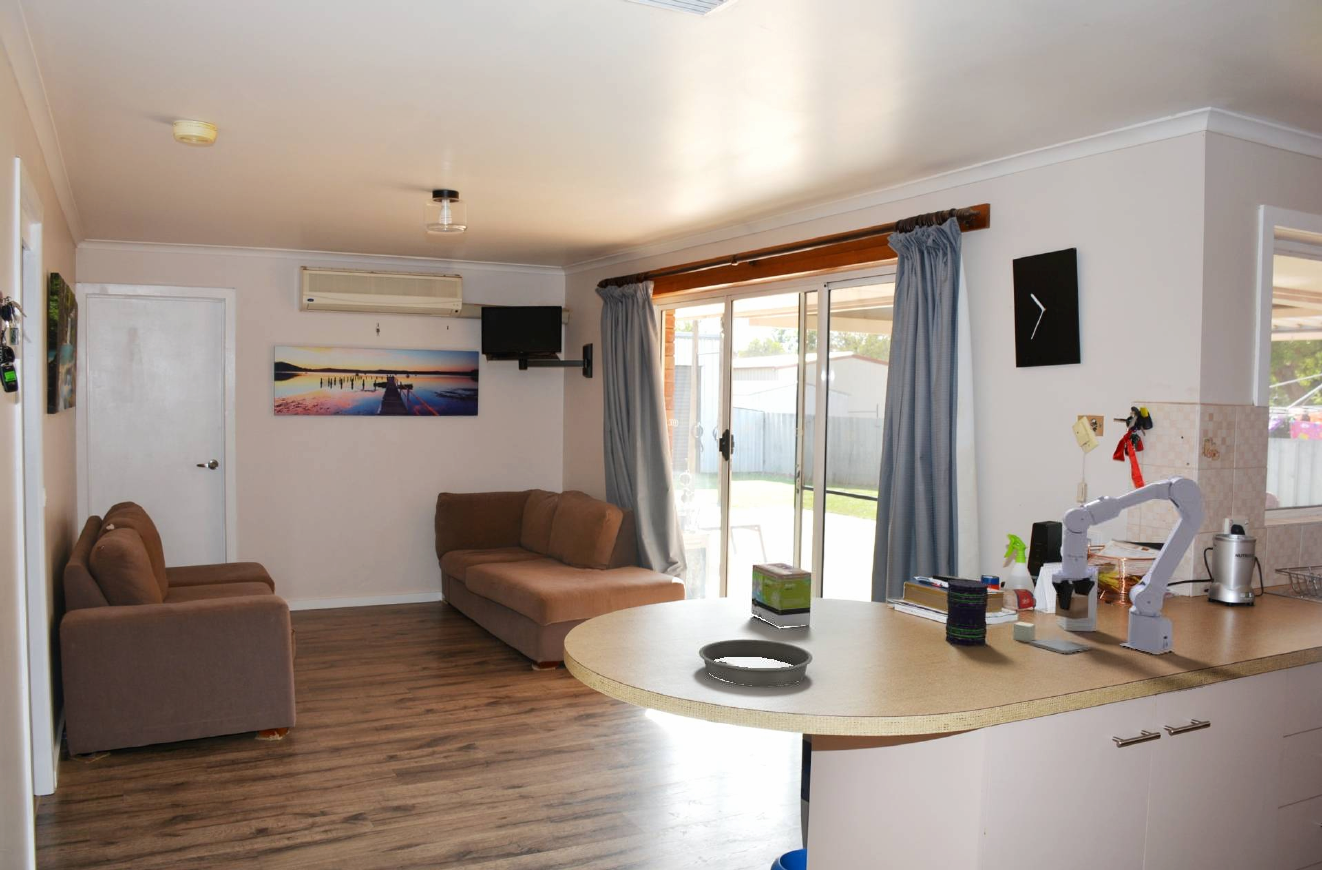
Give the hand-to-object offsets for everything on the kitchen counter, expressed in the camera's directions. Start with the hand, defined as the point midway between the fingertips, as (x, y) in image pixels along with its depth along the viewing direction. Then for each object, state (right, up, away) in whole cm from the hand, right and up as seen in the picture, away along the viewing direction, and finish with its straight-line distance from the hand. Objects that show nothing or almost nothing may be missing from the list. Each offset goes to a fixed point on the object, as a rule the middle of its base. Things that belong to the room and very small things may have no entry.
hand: (1072, 608), depth 242 cm
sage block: (-12, -8, +1) cm, 15 cm away
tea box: (-73, -6, +13) cm, 75 cm away
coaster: (-6, -9, -6) cm, 12 cm away
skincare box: (+7, -8, +14) cm, 18 cm away
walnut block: (0, -2, 0) cm, 2 cm away
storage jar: (-28, -8, -3) cm, 30 cm away
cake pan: (-85, -8, -36) cm, 92 cm away
